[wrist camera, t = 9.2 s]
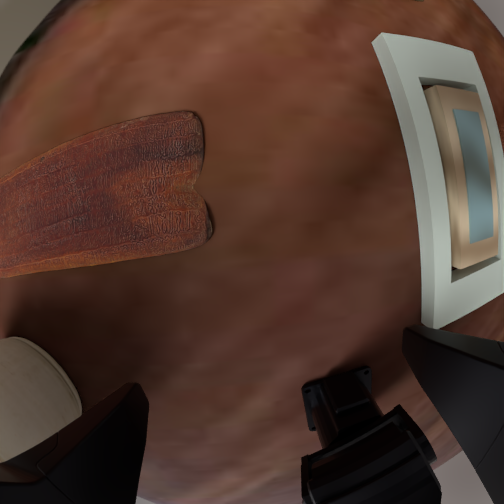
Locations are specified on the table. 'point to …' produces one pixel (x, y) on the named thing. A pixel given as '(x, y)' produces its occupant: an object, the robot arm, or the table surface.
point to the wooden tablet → (106, 198)
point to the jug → (32, 397)
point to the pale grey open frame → (440, 171)
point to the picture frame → (466, 173)
